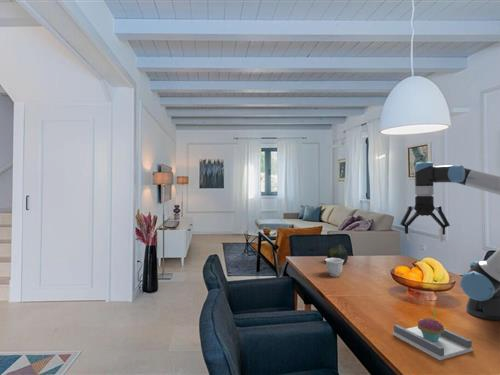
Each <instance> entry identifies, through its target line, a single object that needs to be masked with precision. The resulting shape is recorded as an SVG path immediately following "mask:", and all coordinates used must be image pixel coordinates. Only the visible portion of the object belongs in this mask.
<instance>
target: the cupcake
mask: <svg viewBox="0 0 500 375" xmlns="http://www.w3.org/2000/svg"><path fill="white" fill-rule="evenodd" d="M436 314H437V307H435V308H434V310H433V317H432V318H430V317H429V318H427V317H426V318H421V319H422V320H420V319H419V321H417V326H418V329H420V330H421V332H422V334H423V337H424V338H425V339H427V340H429V341H431V342H437V341H438V339H439V337H440V334H441V333H443V332H444V329H445V328H444V325H443V324H442V323H441V322H440V321H438V320H437V319H436V316H437V315H436Z"/></svg>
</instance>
